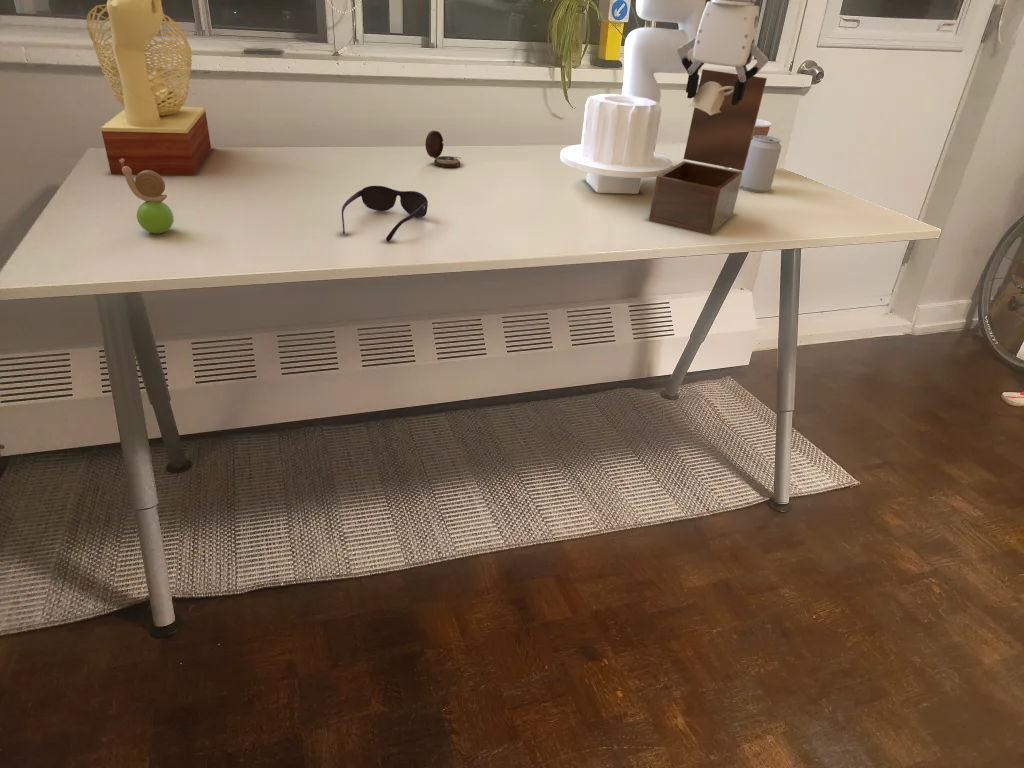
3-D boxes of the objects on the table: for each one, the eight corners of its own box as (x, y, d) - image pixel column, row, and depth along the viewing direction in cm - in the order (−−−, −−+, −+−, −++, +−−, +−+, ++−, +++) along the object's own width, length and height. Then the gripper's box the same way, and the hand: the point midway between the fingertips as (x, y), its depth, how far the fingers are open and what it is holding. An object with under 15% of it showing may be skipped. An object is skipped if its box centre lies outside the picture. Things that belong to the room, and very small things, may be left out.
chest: (710, 234, 138) (720, 189, 133) (648, 220, 143) (656, 176, 138) (732, 214, 151) (742, 172, 146) (675, 201, 156) (683, 160, 151)
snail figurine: (141, 226, 121) (126, 154, 114) (180, 227, 121) (167, 156, 115) (129, 237, 116) (112, 163, 110) (169, 238, 117) (156, 165, 110)
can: (771, 195, 166) (785, 142, 160) (739, 191, 167) (751, 138, 161) (768, 186, 172) (781, 136, 166) (737, 182, 173) (749, 132, 167)
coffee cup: (745, 163, 192) (756, 117, 186) (768, 173, 184) (780, 125, 178) (713, 163, 189) (723, 116, 183) (734, 174, 181) (746, 125, 175)
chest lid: (766, 78, 137) (772, 78, 142) (702, 69, 143) (710, 69, 147) (742, 170, 145) (749, 167, 150) (683, 158, 151) (691, 156, 155)
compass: (450, 169, 166) (451, 137, 162) (423, 163, 169) (423, 131, 165) (470, 163, 172) (471, 132, 168) (443, 157, 175) (444, 126, 171)
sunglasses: (432, 217, 135) (433, 191, 132) (403, 244, 122) (403, 216, 119) (366, 208, 137) (365, 182, 135) (330, 233, 124) (328, 205, 121)
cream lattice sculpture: (195, 177, 147) (163, -16, 129) (100, 176, 143) (53, -23, 125) (213, 148, 167) (188, -22, 149) (130, 146, 164) (94, -28, 146)
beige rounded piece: (703, 107, 138) (709, 78, 135) (731, 117, 132) (739, 86, 129) (686, 107, 137) (692, 77, 134) (715, 117, 130) (722, 86, 128)
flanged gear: (682, 204, 154) (700, 113, 144) (571, 202, 150) (582, 108, 140) (645, 173, 175) (659, 92, 165) (547, 171, 171) (555, 87, 161)
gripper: (789, -1, 123) (763, 105, 132) (692, -10, 130) (675, 92, 139) (780, -1, 118) (754, 110, 127) (679, -10, 124) (662, 96, 133)
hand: (712, 100), depth 133 cm, fingers closed on beige rounded piece, 7 cm apart
